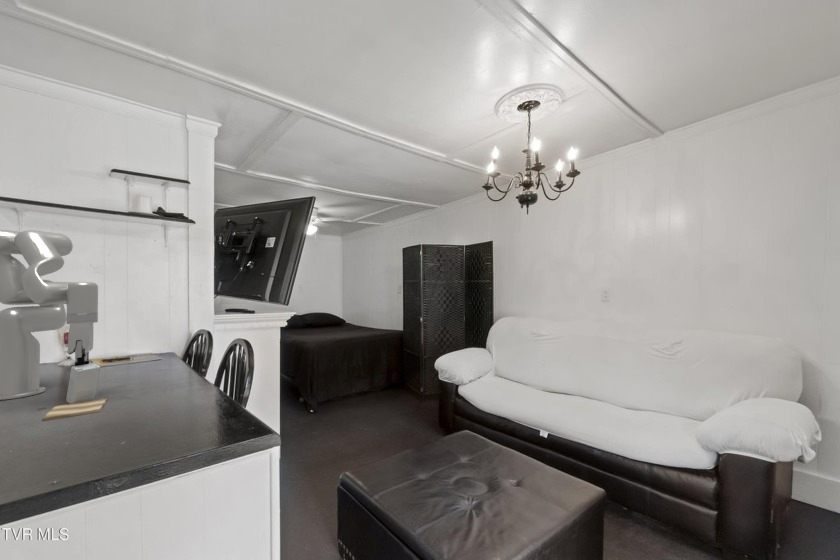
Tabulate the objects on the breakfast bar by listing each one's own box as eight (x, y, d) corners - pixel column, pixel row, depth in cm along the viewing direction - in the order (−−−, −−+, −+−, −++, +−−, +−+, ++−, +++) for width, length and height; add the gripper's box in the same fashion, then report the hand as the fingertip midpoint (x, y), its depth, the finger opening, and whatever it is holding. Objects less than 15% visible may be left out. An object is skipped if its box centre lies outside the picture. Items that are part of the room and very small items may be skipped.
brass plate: (55, 408, 107) (55, 405, 107) (106, 400, 114) (106, 398, 114) (42, 421, 97) (42, 418, 97) (99, 411, 103) (99, 409, 104)
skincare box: (88, 395, 116) (94, 361, 115) (95, 400, 115) (102, 366, 114) (64, 401, 111) (70, 365, 110) (71, 406, 109) (78, 370, 108)
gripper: (72, 318, 118) (71, 371, 118) (60, 321, 106) (59, 380, 106) (101, 316, 123) (101, 368, 122) (93, 319, 111) (93, 376, 110)
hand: (82, 373), depth 114 cm, fingers closed
